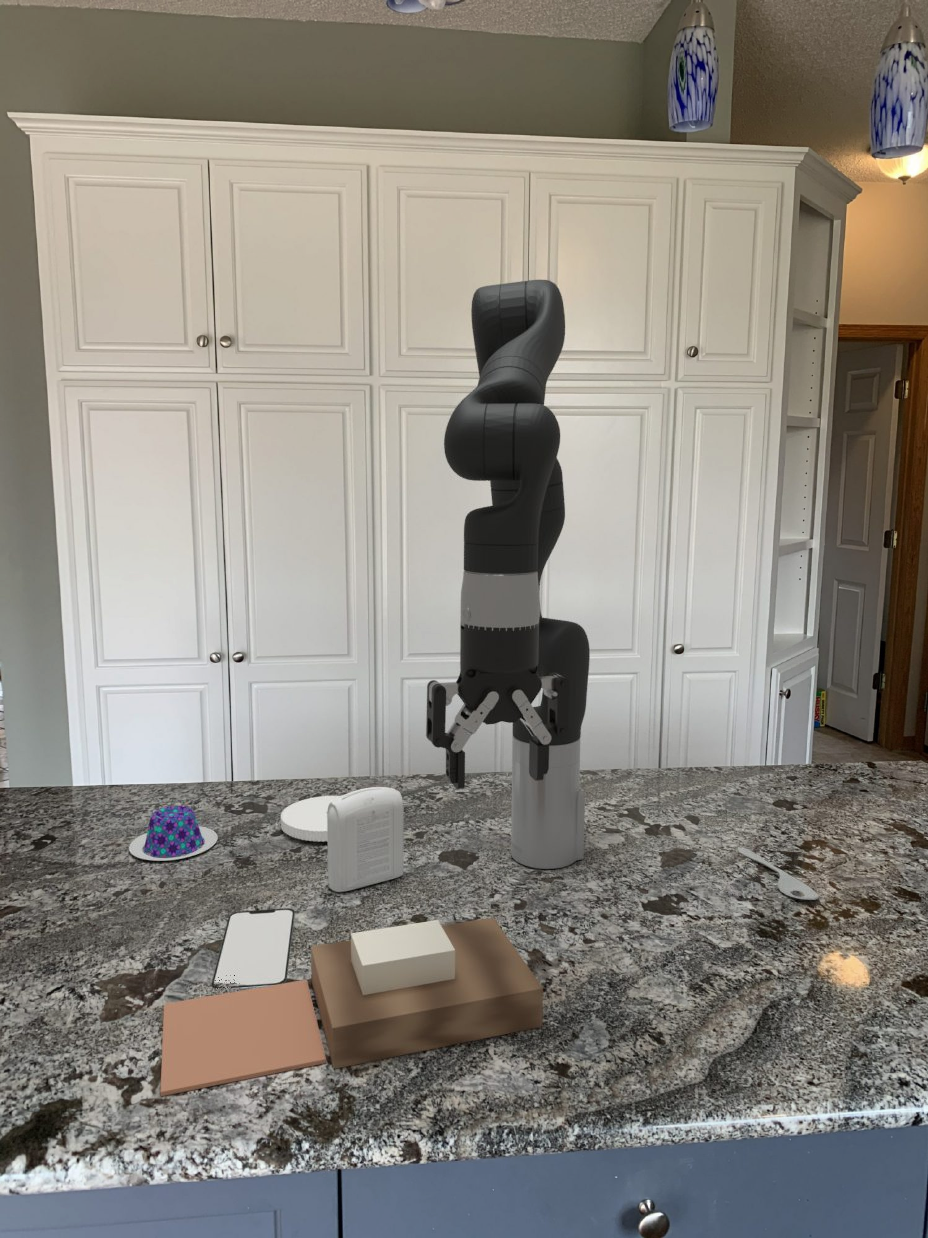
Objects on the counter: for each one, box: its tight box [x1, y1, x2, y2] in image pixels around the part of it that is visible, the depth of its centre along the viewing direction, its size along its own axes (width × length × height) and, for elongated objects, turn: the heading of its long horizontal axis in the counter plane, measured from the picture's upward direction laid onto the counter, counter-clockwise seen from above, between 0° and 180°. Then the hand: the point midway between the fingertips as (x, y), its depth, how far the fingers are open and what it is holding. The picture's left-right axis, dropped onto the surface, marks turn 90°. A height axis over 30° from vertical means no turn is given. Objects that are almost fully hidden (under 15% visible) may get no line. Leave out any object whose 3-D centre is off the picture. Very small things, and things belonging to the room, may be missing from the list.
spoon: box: [737, 846, 820, 901], centre depth 116 cm, size 4×21×2 cm, turn 12°
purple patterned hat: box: [128, 805, 219, 862], centre depth 123 cm, size 12×12×5 cm
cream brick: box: [350, 919, 455, 995], centre depth 85 cm, size 9×6×3 cm, turn 108°
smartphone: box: [210, 907, 296, 990], centre depth 97 cm, size 8×1×16 cm
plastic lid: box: [280, 795, 342, 843], centre depth 130 cm, size 14×14×2 cm
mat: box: [160, 979, 327, 1097], centre depth 81 cm, size 14×13×1 cm
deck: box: [310, 917, 544, 1070], centre depth 86 cm, size 20×14×4 cm
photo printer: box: [327, 786, 405, 893], centre depth 111 cm, size 10×4×12 cm, turn 123°
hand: (497, 782), depth 85 cm, fingers open, 7 cm apart
